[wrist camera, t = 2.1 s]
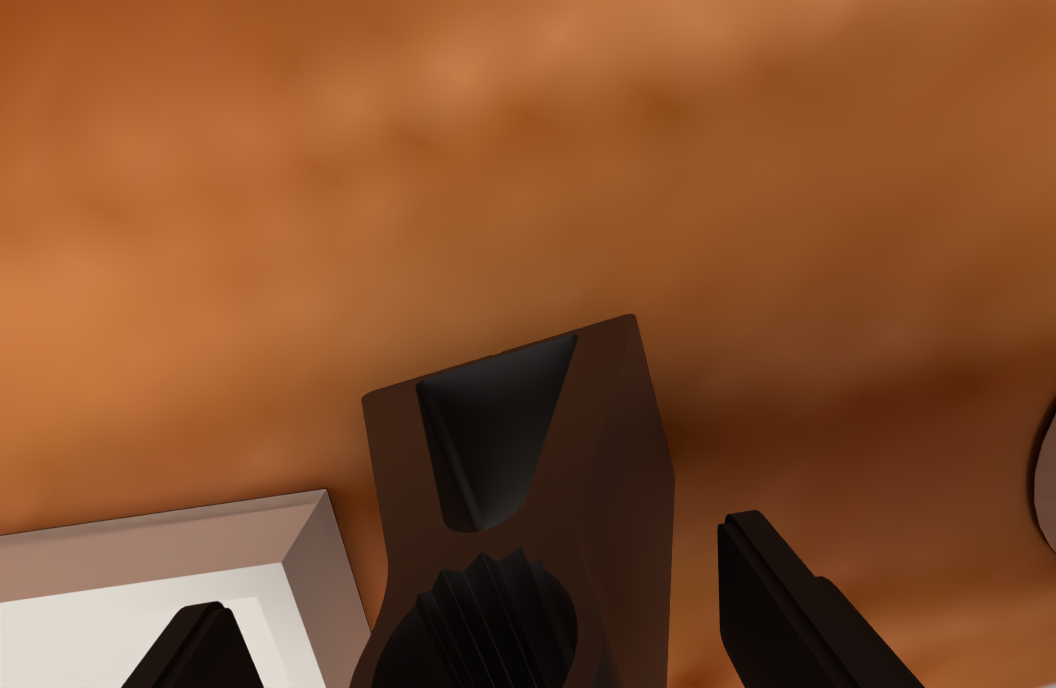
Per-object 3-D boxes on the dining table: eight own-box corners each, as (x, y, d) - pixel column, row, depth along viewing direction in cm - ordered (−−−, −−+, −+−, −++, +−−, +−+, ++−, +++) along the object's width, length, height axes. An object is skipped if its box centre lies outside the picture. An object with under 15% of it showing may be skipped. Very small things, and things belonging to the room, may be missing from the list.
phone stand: (428, 538, 18) (278, 1179, 6) (364, 391, 16) (-10, 908, 4) (671, 471, 17) (995, 1028, 6) (633, 312, 15) (992, 658, 4)
